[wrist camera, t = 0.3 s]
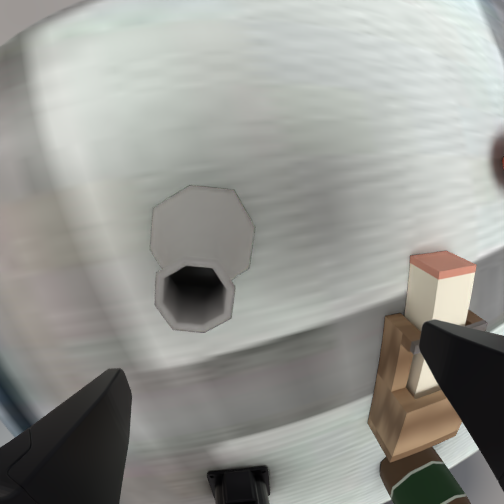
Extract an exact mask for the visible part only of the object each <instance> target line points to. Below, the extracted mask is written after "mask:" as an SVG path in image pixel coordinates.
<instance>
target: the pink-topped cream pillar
mask: <svg viewBox="0 0 504 504" xmlns="http://www.w3.org/2000/svg"><path fill="white" fill-rule="evenodd" d="M475 271H476V264H473V263H471V262H469V261H467V260H465V259H463V258H461V257H459V256H457V255H455V254H452V253H450V252H448V251H441V252H434V253H427V254H419V255H412V256H410V269H409V280H408V290H407V299H406V307H405V315H404V317H405V318H406V319H407V320H409V321H410V322H411V323H412V324H413V325H414V326H415V327H416V328H418V329H419V330H420V331H421V330H422V325H423V323H424V322H426V321H430V320H433V319H436V320H440V321H444V322H448V323H452V324H456V325H460V326H465V323H466V318H467V313H468V309H469V304H470V298H471V293H472V287H473V281H474V274H475ZM406 388H407V389H408V391H409V392H410V393H411V394H412V396H413V397H414V398H415V399H418V398H421V397H423V396H426V395H429V394H432V393H434V392H437V391H440V390H441V389H440V387H439V385H438V384H437V382H436V380H435V378H434V376H433V374H432V372H431V371H430V369H429V367H428V365H427V363H426V361H425V360H424V358H423V356H422V354H421V353H418V354H415V355H414V354H413V358H412V363H411V367H410V372H409V376H408V380H407V385H406Z"/></svg>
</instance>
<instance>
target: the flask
mask: <svg viewBox="0 0 504 504" xmlns="http://www.w3.org/2000/svg"><path fill="white" fill-rule="evenodd" d="M254 232H255V226H254V224H253V223H252V221H251V219H250V217H249V215H248V214H247V212H246V210H245V208H244V207H243V205H242V203H241V201H240V200H239V198H238V196H237V194H236V193H235V191H234V190H230V189H222V188H213V187H204V186H194V185H189V186H188V187H186V188H184V189H183V190H181V191H179V192H178V193H176V194H174V195H173V196H171V197H169V198H168V199H166V200H165V201H163V202H161V203H160V204H158V205H157V206H155V207H153V213H152V226H151V241H150V251H151V252H152V254H153V255H154V257H155V258H156V260H157V262H158V263H159V265H160V266H161V268H162V269H161V270H159V271H158V272H156V281H155V306H156V308H157V309H158V310H159V312H160V313H161V314H162V316H163V317H164V319H165V320H166V321H167V323H168V324H169V325H170V327H171V328H172V329H173V330H180V331H189V332H200V333H205V332H207V331H209V330H211V329H213V328H214V327H216V326H218V325H220V324H222V323H224V322H226V321H228V320H229V319H231V318H232V310H233V302H234V295H235V285H234V284H233V282H232V280H233V279H234V278H235V277H237V276H238V275H240V274H241V273H243V272H245V271H246V270H248V269H249V267H250V260H251V253H252V246H253V239H254Z"/></svg>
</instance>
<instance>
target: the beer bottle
mask: <svg viewBox="0 0 504 504" xmlns="http://www.w3.org/2000/svg"><path fill="white" fill-rule="evenodd" d="M380 476H381V479H382V481H383V483H384V485H385V487H386V489H387V491H388V493H389V495H390V497H391V499H392V501H393V503H394V504H471V503H470V501H469V499H468V498H467V496H466V494H465V493H464V491H463V490H462V488H461V487H460V486H459V484H458V483H457V481H456V480H455V478H454V477H453V475H452V474H451V473H450V471H449V470H448V468H447V467H446V465H445V464H444V462H443V461H442V459H441V458H440V457H439V455H438V454H437V452H436V451H435V450H434V448H433V447H429V448H427V449H425V450H422V451H420V452H417V453H415V454H412V455H410V456H407V457H404V458H402V459H399V460H396V461H393V462H391V463H390V462H389V460H388V458H387V457H386V458H385V459H384V460H383V461H382V462H381V468H380Z"/></svg>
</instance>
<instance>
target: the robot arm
mask: <svg viewBox="0 0 504 504" xmlns="http://www.w3.org/2000/svg"><path fill="white" fill-rule="evenodd" d="M419 349H420V352H421V354H422V356H423V358H424V360H425V361H426V363H427V365H428V367H429V369H430V371H431V372H432V374H433V376H434V378H435V380H436V382H437V384H438V385H439V387H440V389H441V390H442V392H443V393H444V395H445V396H446V398H447V399H448V401H449V402H450V404H451V405H452V407H453V408H454V410H455V411H456V413H457V414H458V416H459V418H460V419H461V421H462V422H463V424H464V425H465V427H466V428H467V430H468V432H469V433H470V435H471V436H472V438H473V440H474V441H475V443H476V445H477V446H478V448H479V450H480V451H481V453H482V454H483V456H484V458H485V459H486V461H487V463H488V464H489V466H490V468H491V470H492V471H493V473H494V475H495V477H496V479H497V480H498V482H499V484H500V486H501V487H502V489H503V491H504V336H502V335H498V334H494V333H489V332H485V331H481V330H477V329H473V328H469V327H465V326H460V325H456V324H452V323H448V322H444V321H440V320H436V319H433V320H430V321H426V322H424V323H423V325H422V330H421V336H420V342H419ZM131 404H132V393H131V390H130V387H129V384H128V381H127V379H126V376H125V373H124V371H123V370H122V369H121V368H114V369H108V370H106V371H105V372H104V373H102V374H101V375H100V376H98V377H97V378H95V379H94V380H93V381H91V382H90V383H89V384H87V385H86V386H85V387H83V388H82V389H81V390H79V391H78V392H77V393H75V394H74V395H73V396H71V397H70V398H69V399H67V400H66V401H65V402H63V403H62V404H60V405H59V406H58V407H56V408H55V409H54V410H52V411H51V412H50V413H48V414H47V415H46V416H44V417H43V418H41V419H40V420H39V421H37V422H36V423H35V424H33V425H32V426H31V427H30V429H29V428H28V429H26V430H25V431H24V432H22V433H21V434H20V435H18V436H17V437H15V438H14V439H13V440H11V441H10V442H8V443H7V444H5V445H4V446H2V447H0V504H119V501H120V494H121V487H122V481H123V474H124V468H125V462H126V456H127V450H128V444H129V434H130V418H131ZM207 478H208V481H209V484H210V487H211V490H212V493H213V496H214V498H215V503H216V504H270V503H269V498H268V496H269V495H270V487H269V473H268V468H267V467H256V468H248V469H239V470H228V471H215V472H208V473H207Z"/></svg>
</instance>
